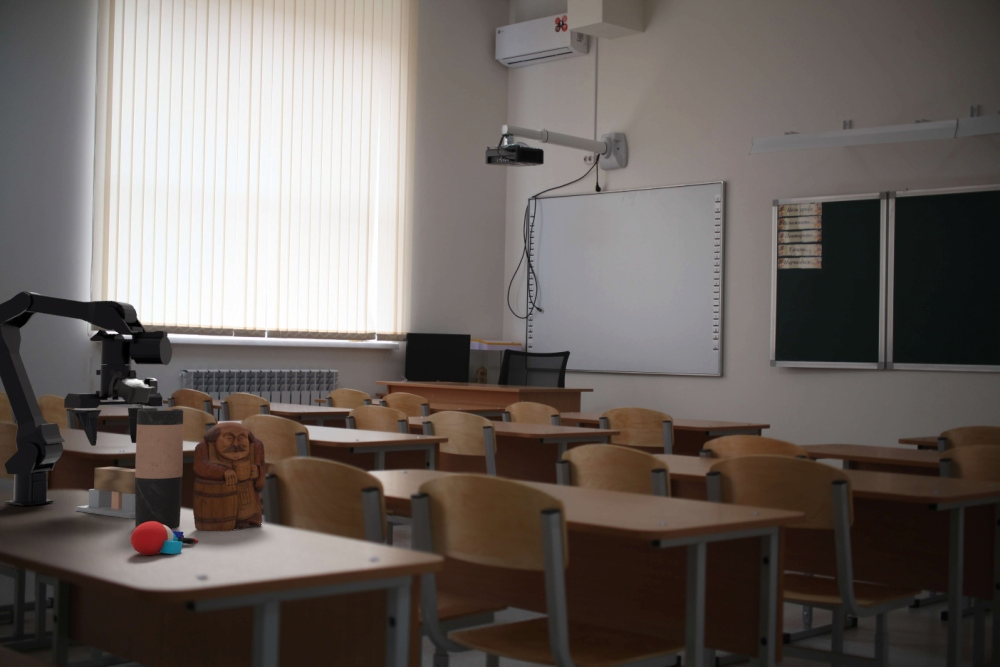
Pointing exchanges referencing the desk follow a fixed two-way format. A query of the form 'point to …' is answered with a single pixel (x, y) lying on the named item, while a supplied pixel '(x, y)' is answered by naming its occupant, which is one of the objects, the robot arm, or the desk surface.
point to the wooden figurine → (228, 479)
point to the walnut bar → (115, 479)
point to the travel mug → (159, 466)
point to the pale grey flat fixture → (110, 503)
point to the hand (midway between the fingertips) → (114, 444)
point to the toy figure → (158, 539)
